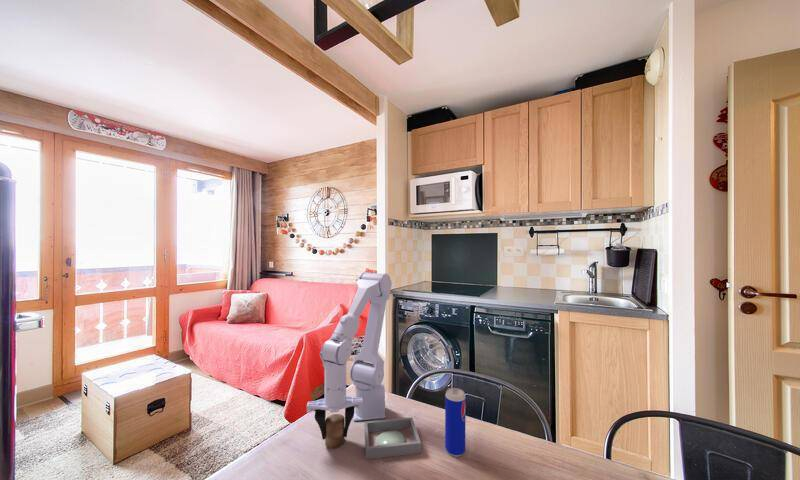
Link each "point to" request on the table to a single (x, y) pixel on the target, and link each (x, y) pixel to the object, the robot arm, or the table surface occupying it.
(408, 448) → the grey rectangular frame
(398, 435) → the coaster
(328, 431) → the walnut cylinder
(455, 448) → the beverage can
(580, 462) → the table surface
